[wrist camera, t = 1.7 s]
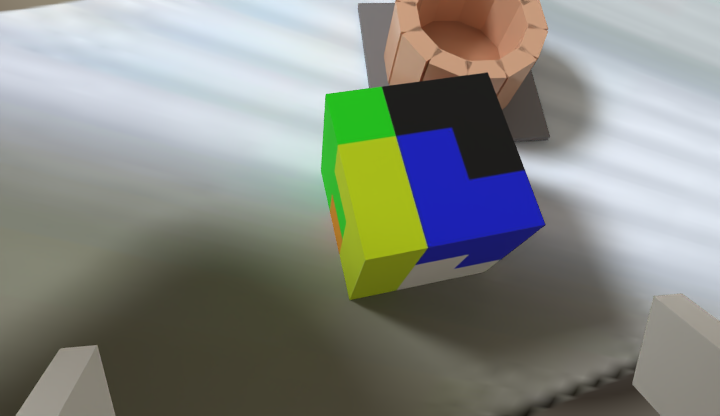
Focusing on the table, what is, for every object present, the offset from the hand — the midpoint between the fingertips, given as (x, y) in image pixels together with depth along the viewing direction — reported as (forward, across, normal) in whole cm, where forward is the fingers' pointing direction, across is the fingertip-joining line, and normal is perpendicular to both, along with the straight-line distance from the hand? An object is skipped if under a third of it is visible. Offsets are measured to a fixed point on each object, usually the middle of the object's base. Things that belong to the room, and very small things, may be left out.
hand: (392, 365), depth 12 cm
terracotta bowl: (+32, +11, +3) cm, 34 cm away
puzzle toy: (+24, +5, -7) cm, 25 cm away
